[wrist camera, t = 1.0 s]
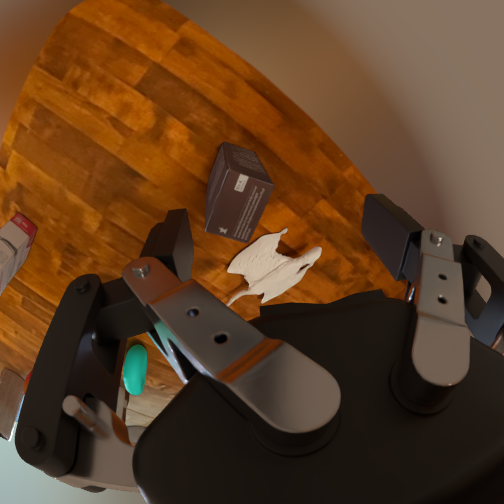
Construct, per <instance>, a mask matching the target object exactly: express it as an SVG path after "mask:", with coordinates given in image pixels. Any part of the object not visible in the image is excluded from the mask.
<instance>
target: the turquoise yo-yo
mask: <svg viewBox="0 0 504 504" xmlns="http://www.w3.org/2000/svg"><path fill="white" fill-rule="evenodd" d="M146 370H147V352H146V349H145V348H144V347H143V346H142V345H134V346H132V347H131V348H130V349H129V351H128V353H127V355H126V359H125V363H124V384H125V387H126V389H127V391H128V392H129V393H130V394H132V395H139V394H141V393H142V391H143V389H144V385H145V379H146Z"/></svg>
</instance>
